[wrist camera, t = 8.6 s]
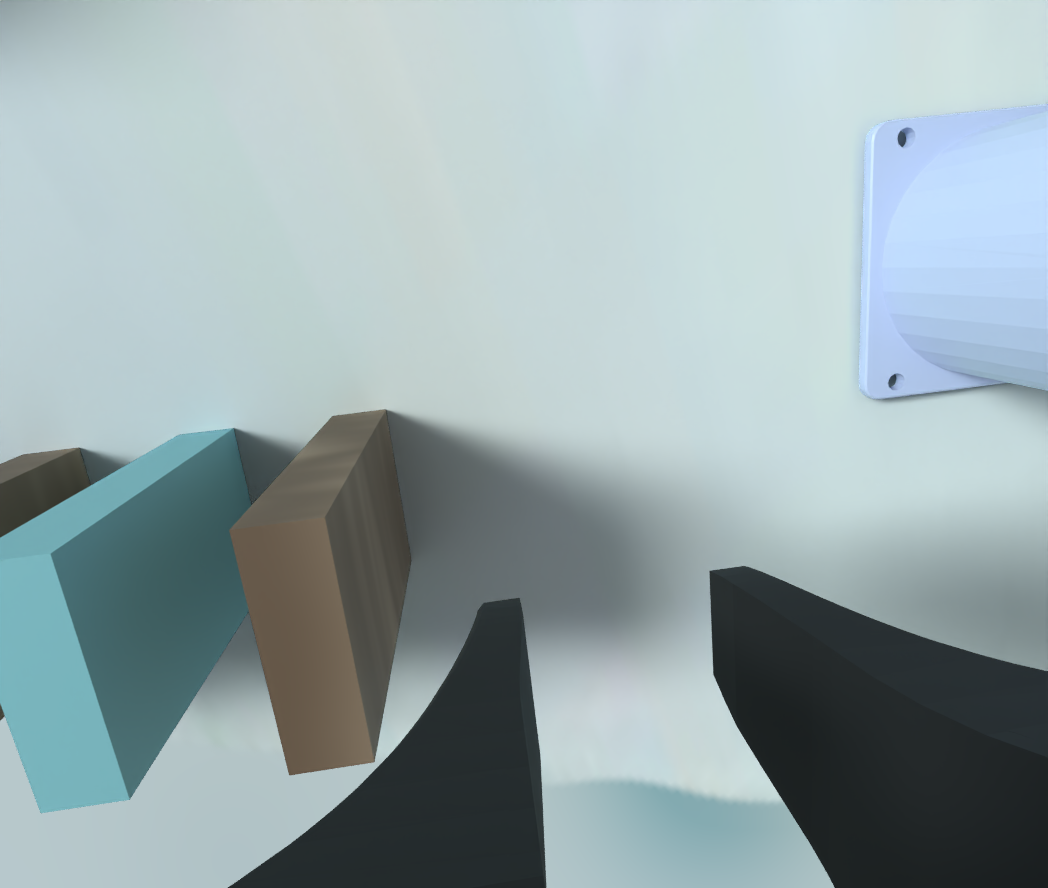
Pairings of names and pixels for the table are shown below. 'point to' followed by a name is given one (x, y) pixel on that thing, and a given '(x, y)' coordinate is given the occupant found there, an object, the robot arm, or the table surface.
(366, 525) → the domino
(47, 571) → the domino
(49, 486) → the domino
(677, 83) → the table surface
